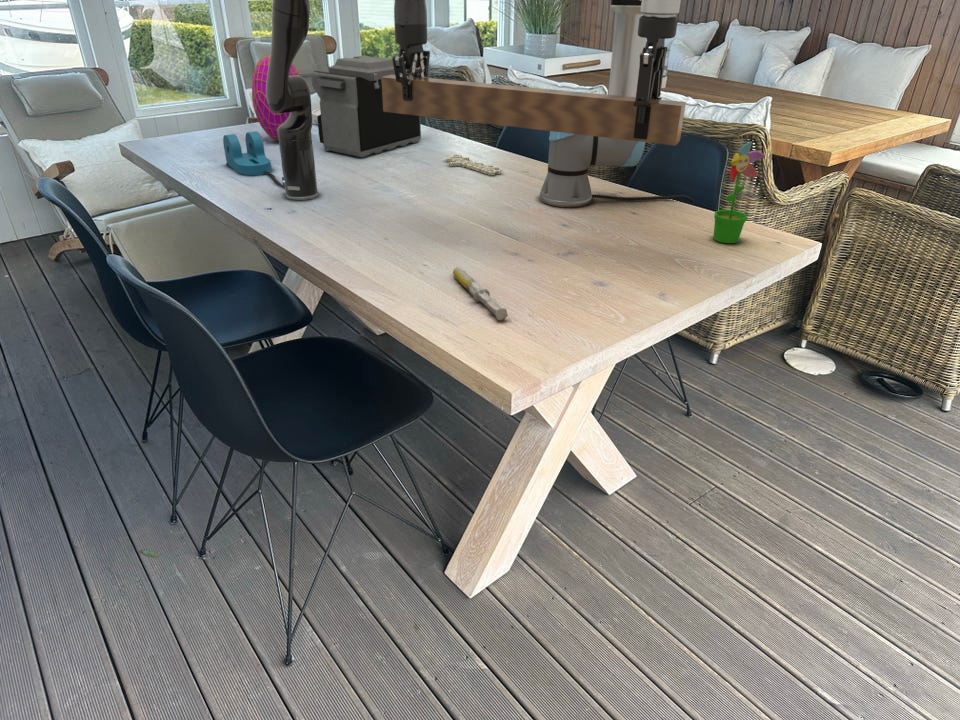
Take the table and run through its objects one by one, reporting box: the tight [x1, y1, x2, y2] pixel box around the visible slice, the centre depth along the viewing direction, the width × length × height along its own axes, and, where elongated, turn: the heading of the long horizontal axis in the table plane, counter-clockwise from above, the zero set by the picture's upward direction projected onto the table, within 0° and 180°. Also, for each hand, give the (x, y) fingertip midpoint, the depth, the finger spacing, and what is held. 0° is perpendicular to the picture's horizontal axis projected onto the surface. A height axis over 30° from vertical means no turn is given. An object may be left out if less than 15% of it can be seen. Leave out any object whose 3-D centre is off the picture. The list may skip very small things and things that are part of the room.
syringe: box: [452, 266, 509, 321], centre depth 145 cm, size 25×4×3 cm, turn 21°
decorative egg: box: [251, 54, 301, 141], centre depth 257 cm, size 19×19×30 cm
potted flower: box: [713, 141, 766, 244], centre depth 170 cm, size 9×8×25 cm
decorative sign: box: [445, 154, 501, 176], centre depth 234 cm, size 26×1×10 cm
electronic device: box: [310, 55, 422, 159], centre depth 250 cm, size 37×22×30 cm, turn 144°
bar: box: [381, 75, 687, 147], centre depth 156 cm, size 72×5×8 cm, turn 65°
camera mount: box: [222, 131, 272, 176], centre depth 226 cm, size 18×10×10 cm, turn 35°
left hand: (413, 98), depth 167 cm, fingers closed on bar, 4 cm apart
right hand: (643, 135), depth 148 cm, fingers closed on bar, 5 cm apart
